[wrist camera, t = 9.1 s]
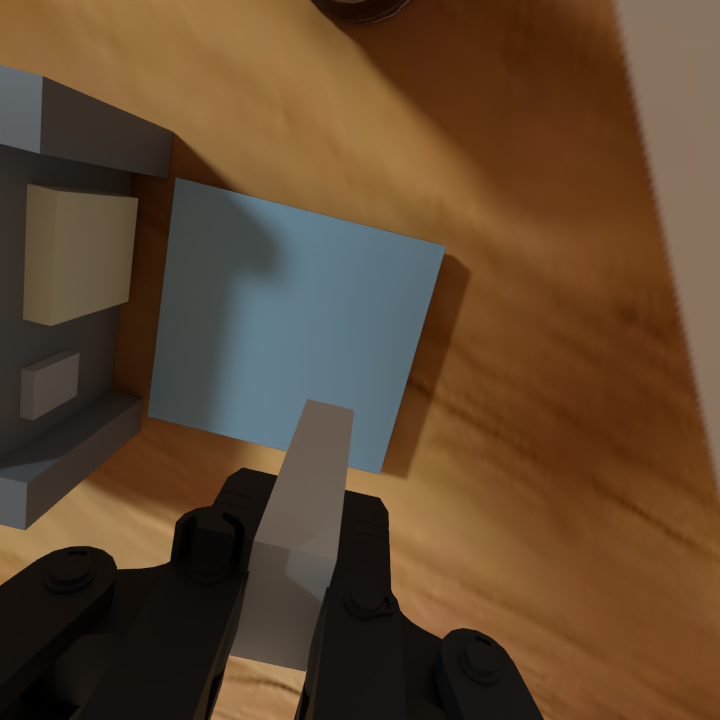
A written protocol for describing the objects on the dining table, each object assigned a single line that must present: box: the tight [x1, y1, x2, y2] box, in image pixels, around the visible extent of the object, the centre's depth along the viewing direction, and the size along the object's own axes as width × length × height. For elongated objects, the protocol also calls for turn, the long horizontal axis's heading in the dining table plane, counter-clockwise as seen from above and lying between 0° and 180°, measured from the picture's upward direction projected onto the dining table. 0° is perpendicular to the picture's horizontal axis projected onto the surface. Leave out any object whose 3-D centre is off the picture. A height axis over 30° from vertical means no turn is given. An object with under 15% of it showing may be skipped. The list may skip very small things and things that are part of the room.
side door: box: [147, 178, 446, 474], centre depth 27 cm, size 14×2×14 cm
